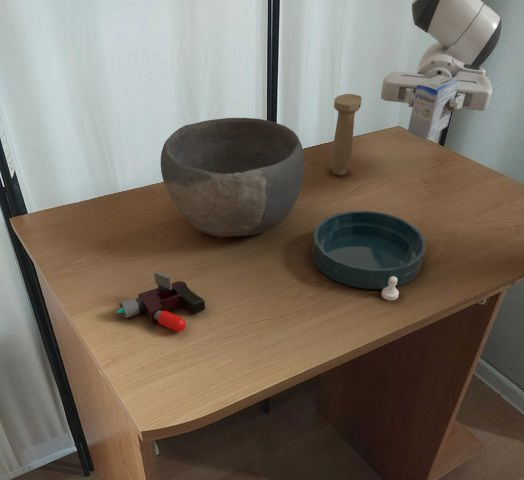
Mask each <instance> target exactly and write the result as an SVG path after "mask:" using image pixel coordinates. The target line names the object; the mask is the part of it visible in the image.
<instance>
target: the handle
mask: <svg viewBox="0 0 524 480" xmlns="http://www.w3.org/2000/svg"><path fill="white" fill-rule="evenodd" d="M362 98H363V97H362V96H361V95H358V94H353V93H344V94H340V95H337V96H336V97H335V98H334V99H333V101H334V102H333V108H334V110H335V111H337V119H336V126H335V132H334V137H333V144H332V157H331V162H332V163H331V164H332V166H331V168H332V169H331V170H332V174H333V175H335V176H339V177H341V176H345V175H347V173H348V171H349V168H348V167H349V166H350V162H351V156H352V152H353V151H352V150H353V142H354V141H353V140H354V128H355V127H354V126H355V115H356V112H357V111H359V110H360V108H361V106H362V100H363V99H362Z"/></svg>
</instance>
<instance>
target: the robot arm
mask: <svg viewBox="0 0 524 480" xmlns="http://www.w3.org/2000/svg"><path fill="white" fill-rule="evenodd" d="M411 14H412V20H413V25H414V26H416V27H417V28H419V30H422V31H423V32H424V33H426V34H428V35H430V36H431V37H432V38H433V39H435V40H436V41H437V42H435V43H433V44H432V45H430V46H429V47H428V48H427V49H426V50H425V52H424V53H423V54H422V56H421V58H420V60H419V62H418V65H417V70H416V73H415V72H407V71H406V72H405V71H392V72H390V73H388V74H387V75H386V76H385V77H383V81H382V85H381V92H380V99H381V100H383V101H386V102H393V103H394V102H395V103H404V104H408V108H413V103H414V98H415V93H416V88H417V85H419V84H421V83H423V82H425V81H427V80H429V79H431V78H433V77H435V76H437V75H441V76H446V77H450V78H453V79H456V80H458V81H459V83H458V87H457V92H456V95H455V99H454V98H450V102H449V106H448V111H451V112H457V110H459V109H460V110H461V109H463V110H472V111H479V112H480V111H486V110H488V108H489V105H490V102H491V98H492V96H493V86H492V82H491V80H490V78H488V77H487V76H486V73H487V72H486V69H485V67H481V66H482V65H483V64H484V63H485V61H486V60H487V59H488V58H489V57H490V56H491V54H492V53H493V51H494V50H495V49H496V47H497V44H498V42H499V41H500V38H501V33H502V17H500V15H498V14H497V13H496V11H494V10H493V9H492V8H491V7H490V6H489V5H488V4H486V3H485V2H484V1H482V0H413V1H412V3H411Z"/></svg>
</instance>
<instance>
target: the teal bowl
mask: <svg viewBox="0 0 524 480" xmlns="http://www.w3.org/2000/svg"><path fill="white" fill-rule="evenodd" d="M426 249H427V242H426V240H425V237H424V235H423V234H422V232H421V231H420V230H419V229H418V228H416V226H414V225H413V224H411V223H409V222H408V221H406V220H404V219H402V218H400V217H398V216H394V215H391V214H388V213H384V212H379V211H370V210H351V211H345V212H339V213H336V214H333V215H331V216H328V217H326V218H324V219H323V220H322V221H321V222H320V223H318V224H317V225H316V226H315V230H314V232H313V236H312V245H311V255H312V261H313V263H314V264H315V266H316V267H317V268H318V270H319V271H320V272H321V273H323V274H324V275H325V276H327V277H328V278H330V279H331V280H333V281H336V282H338V283H341V284H343V285H346V286H348V287H349V286H350V287H353V288H354V287H355V288H359V289H360V288H361V289H365V290H383V289H384V288H386V287H388V286H389V283H388V282H389V278H390V277H392V276H394V277H396V278H397V284H396V285H395V288H397V287H400V286H403V285H405V284H407V283H409V282H410V281H413V280H414V279H415V278H416V276H417V275H418V274H419V273H420V271H421V270H422V267H423V262H424V258H425V255H426Z"/></svg>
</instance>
